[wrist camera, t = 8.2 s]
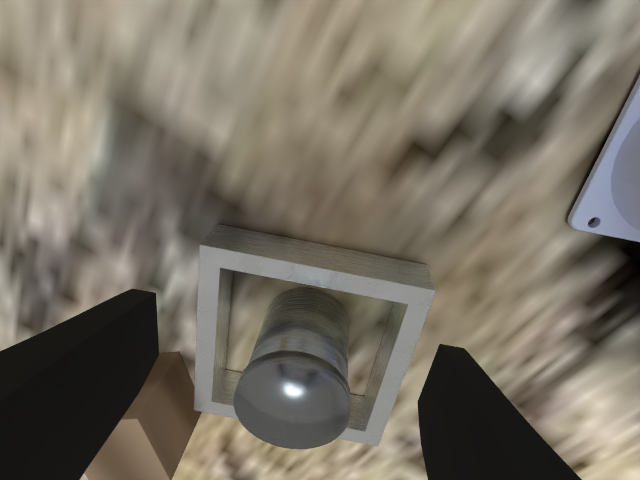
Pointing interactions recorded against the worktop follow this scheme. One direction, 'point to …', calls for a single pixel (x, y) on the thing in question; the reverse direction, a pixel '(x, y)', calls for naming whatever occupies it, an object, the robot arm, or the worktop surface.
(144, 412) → the walnut block
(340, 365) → the grooved metal cylinder
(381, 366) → the frame
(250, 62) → the worktop surface
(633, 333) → the worktop surface
